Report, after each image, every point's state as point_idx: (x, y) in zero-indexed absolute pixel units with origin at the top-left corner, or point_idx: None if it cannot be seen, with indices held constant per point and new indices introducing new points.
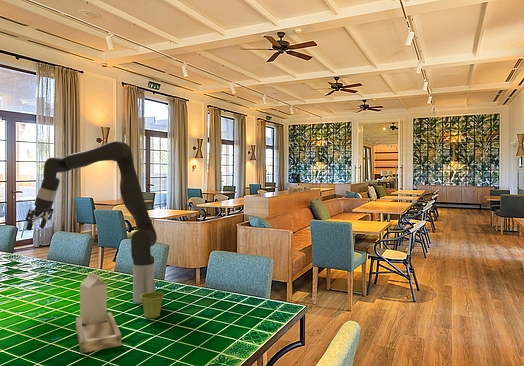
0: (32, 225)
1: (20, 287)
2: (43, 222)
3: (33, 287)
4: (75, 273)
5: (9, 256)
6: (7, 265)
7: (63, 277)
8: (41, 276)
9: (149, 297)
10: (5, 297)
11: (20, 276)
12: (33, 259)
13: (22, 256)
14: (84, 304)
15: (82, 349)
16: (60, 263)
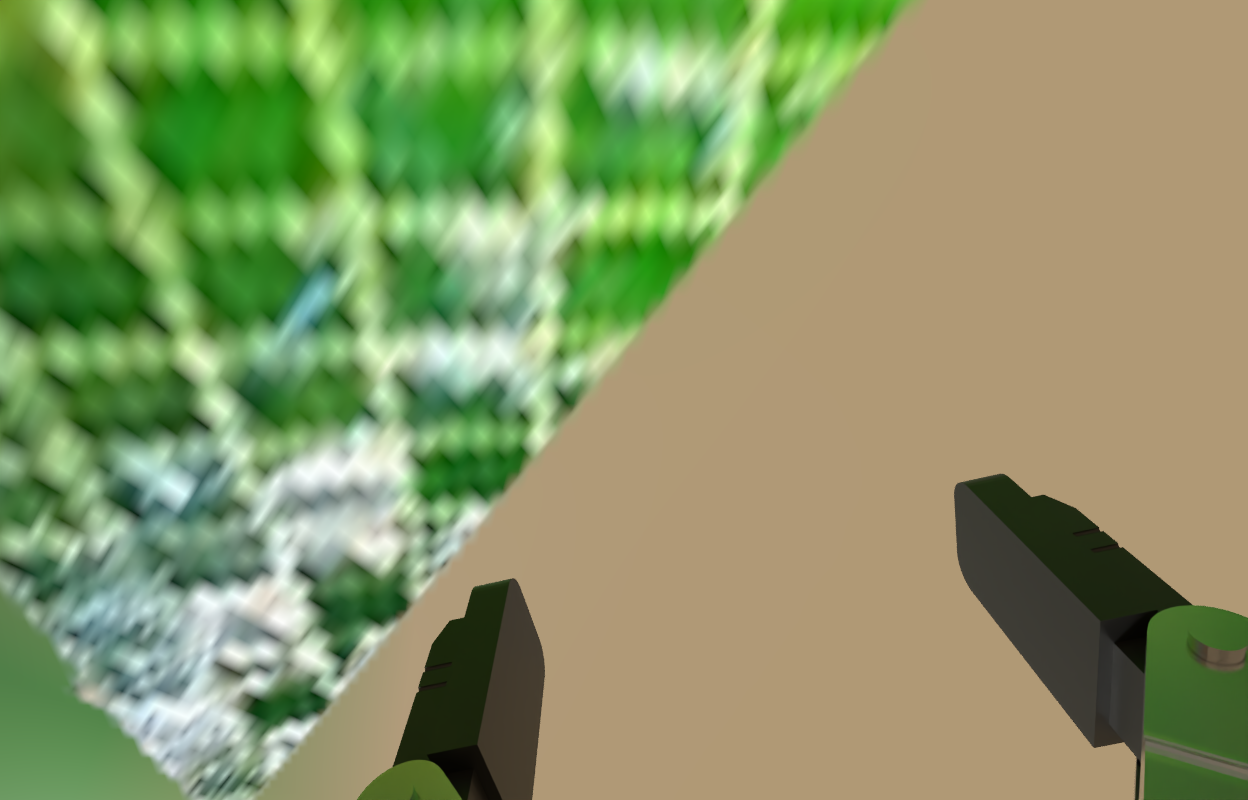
0: (1076, 566)
1: (540, 312)
2: (504, 745)
3: (489, 236)
4: (9, 303)
5: (236, 789)
6: (323, 695)
7: (162, 282)
8: (290, 427)
9: None
10: (751, 186)
11: (389, 511)
12: (154, 717)
13: (181, 771)
14: None
15: None
16: (28, 589)
